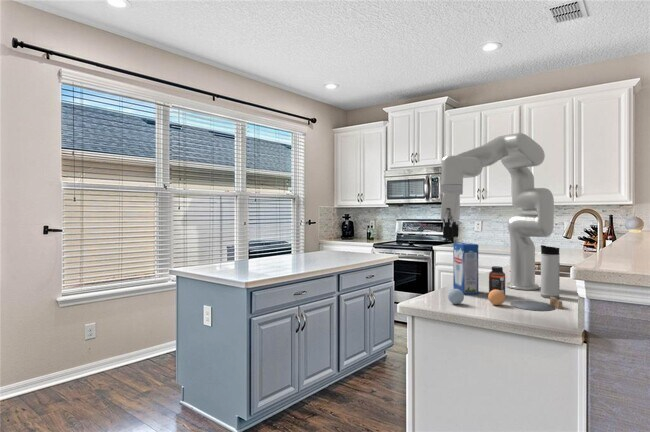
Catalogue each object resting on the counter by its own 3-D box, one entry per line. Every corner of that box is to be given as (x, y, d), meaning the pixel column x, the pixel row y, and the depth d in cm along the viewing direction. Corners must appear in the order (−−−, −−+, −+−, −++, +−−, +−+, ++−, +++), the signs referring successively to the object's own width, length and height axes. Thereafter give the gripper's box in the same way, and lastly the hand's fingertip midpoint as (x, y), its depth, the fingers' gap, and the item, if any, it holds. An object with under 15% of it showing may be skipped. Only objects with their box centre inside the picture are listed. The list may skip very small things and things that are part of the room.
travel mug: (536, 295, 157) (536, 244, 157) (552, 295, 158) (552, 244, 158) (546, 299, 151) (546, 246, 151) (563, 298, 152) (563, 245, 151)
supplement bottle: (507, 297, 155) (507, 268, 154) (490, 296, 156) (490, 267, 156) (503, 294, 161) (503, 265, 160) (487, 293, 162) (487, 265, 162)
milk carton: (453, 289, 169) (453, 242, 169) (467, 289, 170) (467, 242, 170) (463, 295, 160) (463, 244, 159) (478, 294, 160) (478, 244, 160)
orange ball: (486, 302, 146) (486, 287, 146) (502, 303, 145) (502, 288, 145) (490, 306, 141) (490, 291, 141) (507, 307, 140) (507, 291, 140)
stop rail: (550, 303, 144) (550, 296, 144) (553, 304, 144) (553, 297, 144) (558, 308, 137) (558, 301, 137) (562, 308, 137) (562, 301, 137)
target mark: (505, 300, 149) (505, 300, 149) (545, 301, 147) (545, 301, 147) (517, 310, 135) (517, 309, 135) (562, 311, 133) (562, 310, 133)
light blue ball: (446, 302, 148) (446, 287, 148) (462, 302, 147) (462, 287, 147) (449, 305, 143) (449, 290, 143) (465, 306, 142) (465, 290, 142)
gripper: (446, 191, 154) (445, 236, 155) (435, 188, 139) (434, 238, 139) (467, 191, 151) (466, 237, 151) (457, 188, 136) (456, 239, 136)
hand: (450, 237), depth 145 cm, fingers open, 9 cm apart
